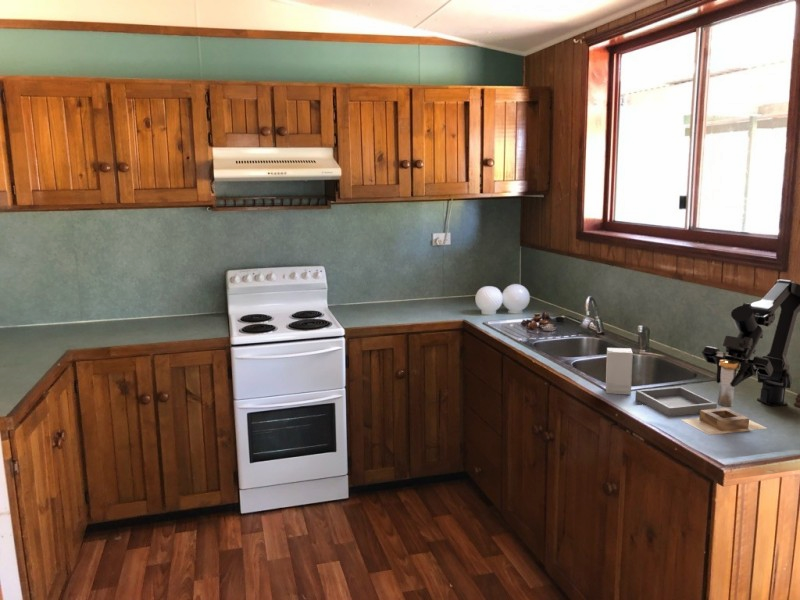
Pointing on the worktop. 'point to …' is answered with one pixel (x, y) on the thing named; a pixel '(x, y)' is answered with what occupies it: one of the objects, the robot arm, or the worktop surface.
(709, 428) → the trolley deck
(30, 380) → the worktop surface
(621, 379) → the skincare box
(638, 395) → the tray
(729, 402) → the pin
